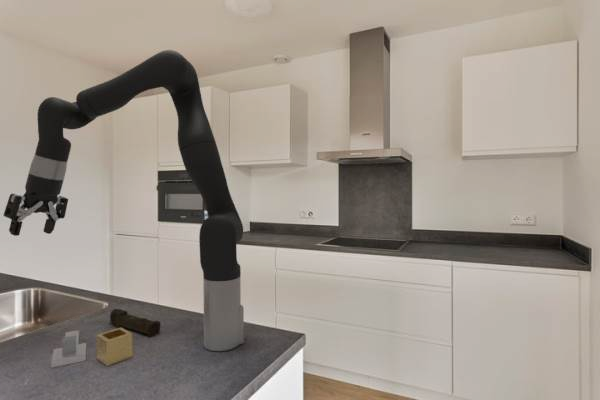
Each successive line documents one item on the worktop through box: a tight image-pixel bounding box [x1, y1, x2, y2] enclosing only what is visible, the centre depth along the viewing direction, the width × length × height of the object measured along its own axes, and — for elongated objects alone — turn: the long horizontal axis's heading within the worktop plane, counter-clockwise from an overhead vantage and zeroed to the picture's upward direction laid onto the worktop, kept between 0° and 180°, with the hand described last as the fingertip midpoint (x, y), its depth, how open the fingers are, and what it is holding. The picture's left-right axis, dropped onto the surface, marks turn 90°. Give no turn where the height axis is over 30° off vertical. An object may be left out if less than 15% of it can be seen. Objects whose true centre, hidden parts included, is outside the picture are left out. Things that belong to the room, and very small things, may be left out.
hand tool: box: [109, 308, 161, 338], centre depth 97 cm, size 19×4×5 cm, turn 60°
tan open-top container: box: [95, 327, 133, 367], centre depth 80 cm, size 6×6×6 cm
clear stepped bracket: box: [50, 329, 87, 369], centre depth 84 cm, size 6×17×5 cm, turn 31°
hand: (31, 233), depth 90 cm, fingers open, 8 cm apart
